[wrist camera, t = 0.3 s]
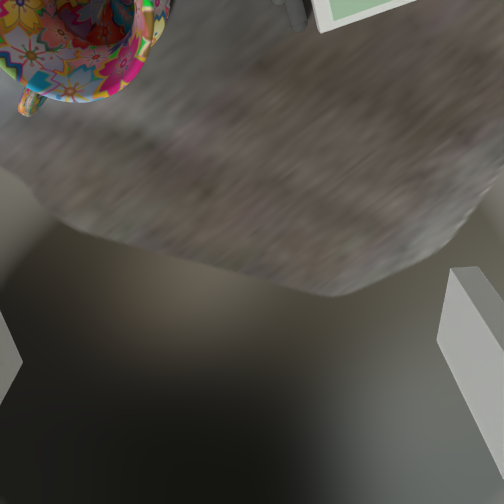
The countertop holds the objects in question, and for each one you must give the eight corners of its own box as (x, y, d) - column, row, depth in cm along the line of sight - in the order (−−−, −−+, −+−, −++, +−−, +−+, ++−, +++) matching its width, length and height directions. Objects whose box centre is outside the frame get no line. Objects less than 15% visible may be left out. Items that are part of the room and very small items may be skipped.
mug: (74, -129, 29) (-1, -161, 20) (204, -29, 32) (188, -18, 23) (5, 44, 35) (-79, 79, 26) (122, 117, 38) (84, 172, 29)
